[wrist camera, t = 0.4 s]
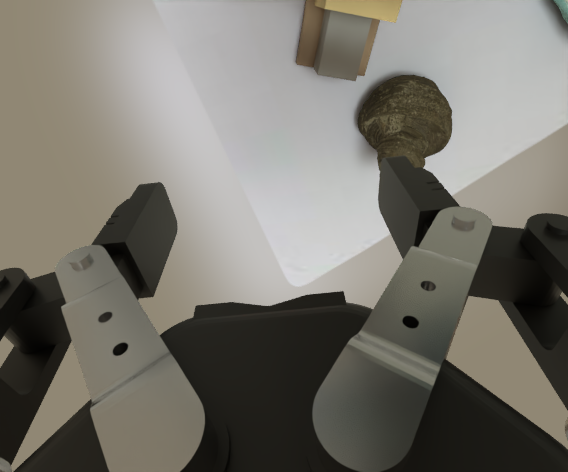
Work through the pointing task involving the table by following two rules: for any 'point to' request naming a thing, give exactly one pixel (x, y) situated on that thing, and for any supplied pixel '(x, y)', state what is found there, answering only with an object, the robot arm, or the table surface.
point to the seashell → (406, 119)
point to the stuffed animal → (563, 8)
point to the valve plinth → (342, 34)
